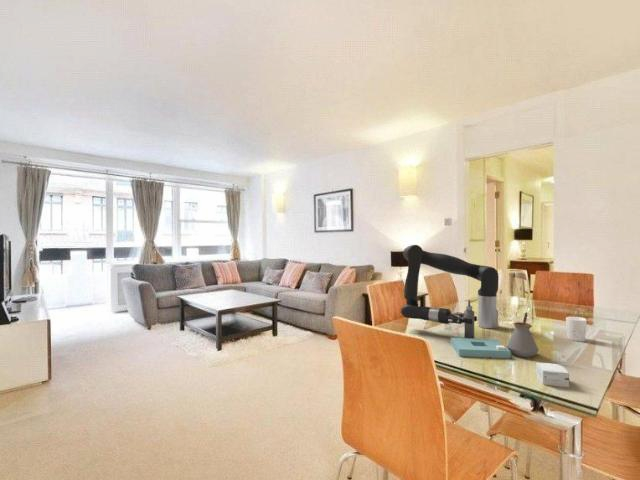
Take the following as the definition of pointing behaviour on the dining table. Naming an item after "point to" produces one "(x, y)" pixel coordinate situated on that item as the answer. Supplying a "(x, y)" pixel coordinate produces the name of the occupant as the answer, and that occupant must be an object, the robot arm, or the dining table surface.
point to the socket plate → (480, 348)
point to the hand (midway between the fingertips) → (474, 320)
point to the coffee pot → (522, 340)
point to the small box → (552, 374)
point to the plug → (469, 327)
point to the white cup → (576, 328)
